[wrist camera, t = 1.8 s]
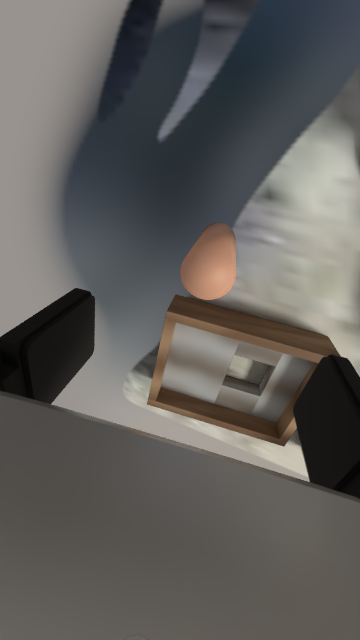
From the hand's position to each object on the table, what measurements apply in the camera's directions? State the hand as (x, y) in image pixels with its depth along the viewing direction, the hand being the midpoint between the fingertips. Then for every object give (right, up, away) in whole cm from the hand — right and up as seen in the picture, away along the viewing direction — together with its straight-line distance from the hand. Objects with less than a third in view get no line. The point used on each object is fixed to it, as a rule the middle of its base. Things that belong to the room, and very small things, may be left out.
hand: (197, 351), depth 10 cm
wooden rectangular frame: (+6, -4, +22) cm, 23 cm away
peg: (+3, +9, +16) cm, 19 cm away
